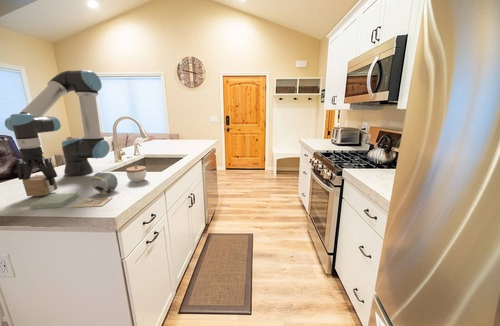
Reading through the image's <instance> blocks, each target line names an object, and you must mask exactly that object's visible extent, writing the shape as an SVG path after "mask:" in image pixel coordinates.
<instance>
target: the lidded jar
mask: <svg viewBox="0 0 500 326" xmlns="http://www.w3.org/2000/svg"><path fill="white" fill-rule="evenodd" d="M125 171H126V176H127V178H128V180H129V181H131V182H133V183H139V182H143V181H144V179H145V178H146V177H147V167H146V166H144V165H134V166H130V167H127V168H126V169H125Z"/></svg>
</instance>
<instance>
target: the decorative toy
mask: <svg viewBox="0 0 500 326" xmlns="http://www.w3.org/2000/svg"><path fill="white" fill-rule="evenodd" d="M91 181H92V187H93V189H95V191H97V192H98V193H99V194H101V195H102V194H104V195H108V194H109V193H111V192H110V191H113V190H115V189H116V188H117V186H118V182H119V181H118V178H117V176H116V175H115V174H113V173H110V172H96V173H95V174H94V175H93V176H92V178H91Z"/></svg>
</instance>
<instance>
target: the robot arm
mask: <svg viewBox="0 0 500 326" xmlns="http://www.w3.org/2000/svg"><path fill="white" fill-rule="evenodd" d="M102 86H103V83H102V81H101V78H100V77H99V76H98V74H96V72H94V71H92V70H87V69H86V70H85V69H83V70H82V69H81V70H64V71H61V72H60V73H58V74H56V75H54V76H53V77H52V78H51V79H50V80H49V81H48V82H47V86H46V87H44V89H43V90H42V91H41V92H40V93H39V94H38V95H37V96H35V98H33V100H32V101H31V102H30V103H28V104H27V105H26V106H25V107H24V108H23V109H22V110H21V111H20V112H19V113H12V114H10V116H9V117H7V118H6V119H5V120H4V126H5V127H6V129H7V130H9V131H10V132H13V133H14V136H15V139H16V142H17V147H18V148H19V149H18V151H19V154H20V155H19V156H21V157H22V158H18V159H15V164H16V166H17V178H18V180H20V181H21V180H25V179H28V178H30V177H32V172H33V168H35V167H36V168H37V169H39V171H40V172H41V173H42V175H45V177H46V178H47V180H46V183H47V186H48V190H49V192H51V193H52V192H54V190H55V189H54V184H55V183H54V179H53V178H57V177H58V173H57V172H56V170H55V167H54V165H53V163H52V158H51V157H44V156H43V148H42V145H41V141H40V136H39V134H41V133H52V132H57V131H60V129H61V127H62V125H61V121H60V120H59V119H58V118H57V117H54V116H44V115H46V114H47V112H48V111H49V110H50V109H51V108H52V107H53V106H54V105H55V104H56V103H57V101H59V100H60V98H61V97H63V96H66V95H67V94H68V93H69V92H74V93H75V94H76V95H77V96H78V100H79V107H80V109H79V110H80V114H81V122H82V128H83V136H82V137H79V138H71V139H66V140H63V141H62V142H61V148H62V154H63V157H64V162H65V166H64V171H63V172H64V176H66V177H79V176H84V175H87V174H92V173H93V172H94V170H93V167H92V165H91V164H90V163H91V162H89V160H88V159H103V158H105V157H106V156H108V154H109V152H110V143H109V142H108V141H107V140H105V137H104V136H103V135H102V134H101V133H102V132H101V127H100V126H101V125H100V119H99V114H98V113H99V112H98V104H97V97H98V96H99V91H101V89H102ZM55 191H56V190H55Z"/></svg>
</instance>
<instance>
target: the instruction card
mask: <svg viewBox="0 0 500 326" xmlns="http://www.w3.org/2000/svg"><path fill="white" fill-rule="evenodd" d="M112 199H113V197H112V196H111V197H93V198H92V197H91V198H82V199H80V200H79V201H77V202H75V203H74V204H73V205H71V206H70V207H69V208H70V209H75V208H95V207H103V206H104V205H106V204H107V203H108V202H110V200H112Z"/></svg>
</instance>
